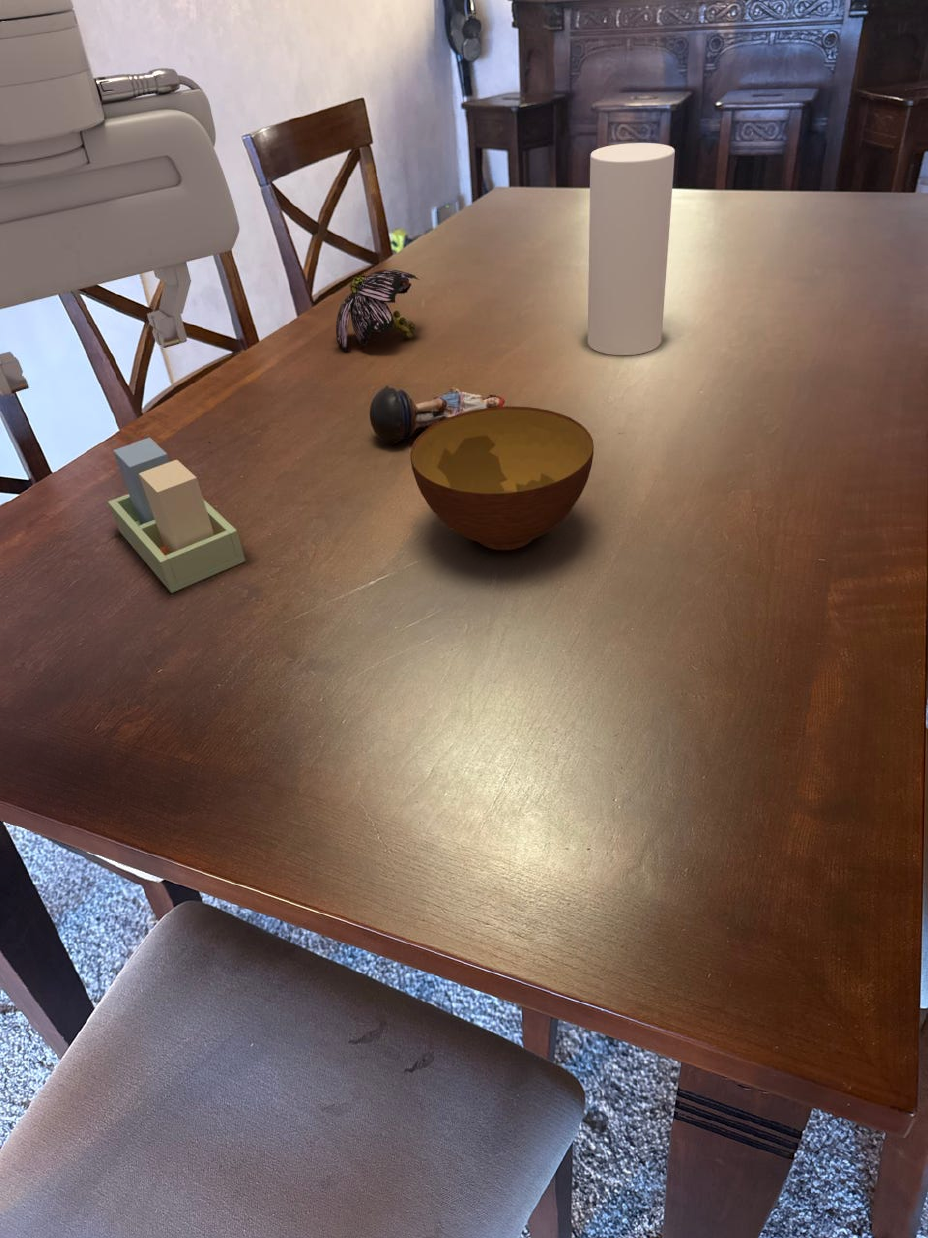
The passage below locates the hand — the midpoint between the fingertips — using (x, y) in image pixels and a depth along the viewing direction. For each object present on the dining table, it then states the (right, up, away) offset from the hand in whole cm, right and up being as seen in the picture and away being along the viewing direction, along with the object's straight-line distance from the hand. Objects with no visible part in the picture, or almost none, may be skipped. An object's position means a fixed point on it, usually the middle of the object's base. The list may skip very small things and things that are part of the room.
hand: (95, 365), depth 51 cm
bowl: (+26, -6, +39) cm, 47 cm away
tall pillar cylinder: (+45, +26, +76) cm, 92 cm away
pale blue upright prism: (-11, -5, +43) cm, 45 cm away
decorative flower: (+9, +28, +84) cm, 89 cm away
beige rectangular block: (-6, -8, +39) cm, 40 cm away
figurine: (+19, +9, +59) cm, 62 cm away
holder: (-9, -7, +42) cm, 43 cm away
